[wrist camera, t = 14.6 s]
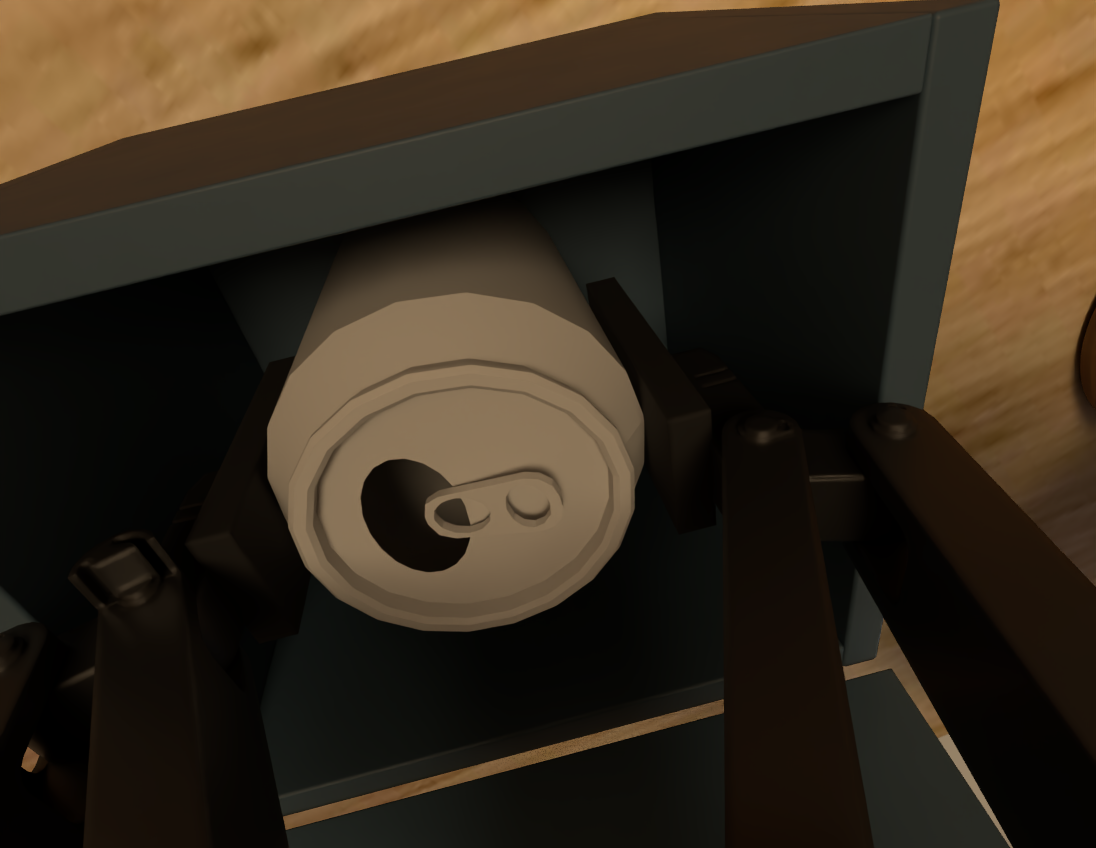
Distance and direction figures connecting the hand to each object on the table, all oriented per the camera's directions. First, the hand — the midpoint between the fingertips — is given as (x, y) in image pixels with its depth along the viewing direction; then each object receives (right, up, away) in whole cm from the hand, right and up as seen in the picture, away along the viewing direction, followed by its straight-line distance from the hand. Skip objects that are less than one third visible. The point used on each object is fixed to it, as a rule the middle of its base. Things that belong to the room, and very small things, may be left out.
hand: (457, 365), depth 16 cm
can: (-1, +3, +5) cm, 6 cm away
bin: (-1, +4, +6) cm, 7 cm away
